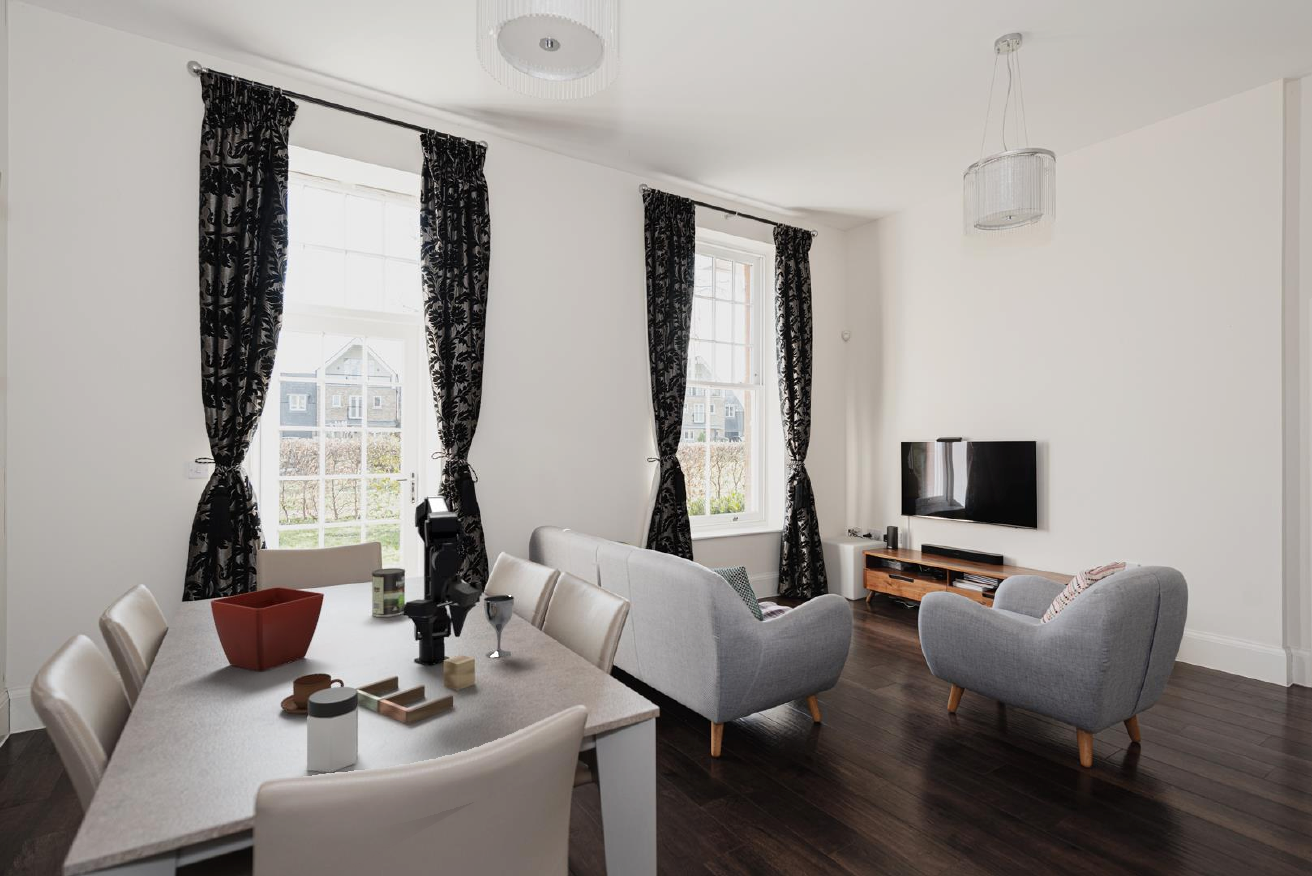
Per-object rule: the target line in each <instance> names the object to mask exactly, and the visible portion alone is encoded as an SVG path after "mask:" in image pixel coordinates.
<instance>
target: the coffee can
mask: <svg viewBox="0 0 1312 876" xmlns="http://www.w3.org/2000/svg"><path fill="white" fill-rule="evenodd" d="M405 574H406V570H405V568H399V567H395V568H391V567H389V568H382V569H381V568H380V569H376V570H373V571H372V572H371V575H372V576H371V577H372V579H371V583H372V584H371V587H372V590H371V593H372V594H371V595H372V597H371V599H372V602H371V603H372V604H371V605H372V611H371V615H372V616H373V617H376V618H389V617H391V618H392V617H397V616H400V614H401V615H404V605H405V604H406V601H405V599H406V598H405V597H406V596H405V595H406V594H405V593H406V591H405V590H406V589H405V587H406V585H405V583H406V582H405V581H406V579H405V578H406V577H405V576H406V575H405Z"/></svg>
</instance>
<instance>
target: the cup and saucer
mask: <svg viewBox="0 0 1312 876" xmlns="http://www.w3.org/2000/svg"><path fill="white" fill-rule="evenodd" d="M335 683H339V684H340V686H339V687H345V684H344V681H343V680H342V679H339V678H336V679H332V675H331V674H328V673H323V672H322V673H311V674H310V673H309V674H305V675H302V676H300V677H297V678H295V679H294V680H293V682H292V689H293V690H292V691H293V693H292V695H289V696H287V697H285V698H284V699H282V701H281V702H280V707H281V709H282V710H284V711H285V712H287V713H290V714H295V715H296V714H297V715H306V714H308V708H307V707H308V706H307V705H308V698H309V696H311V695H312V694H314V693H315V692H318V691H321V690H324V689H328V688H332V685H333V684H335Z"/></svg>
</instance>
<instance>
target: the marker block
mask: <svg viewBox="0 0 1312 876" xmlns="http://www.w3.org/2000/svg"><path fill="white" fill-rule="evenodd" d="M475 669H476V659H475V658H474V657H470V656H467V655H463V654H459V655H456V656H453V657H449V659H446V660H444V661H443V686H444V687H447V688H450V689H453V690H456V691H459V690H462V689H465V688H467V687H470V686H473V685H475V684H476V670H475Z"/></svg>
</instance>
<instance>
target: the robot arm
mask: <svg viewBox="0 0 1312 876" xmlns="http://www.w3.org/2000/svg"><path fill="white" fill-rule="evenodd" d="M414 527H415V528H417V533H418V535H419V537H420V539H421V540H422V541H423V599H415V600H411V601H407V602H405V605H404V613H403V617H404V616H406V617H407V618H408V619H409V620H410V619H411V621H412V623H413V624H414V626H413V632H414V633H413V634H414V635H413V636H414V640H415V641H416V642H417V641H418V656H419V657H417V658H413V662H415V663H420V664H422V665H426V666H433V665H435V664H438V663H442V662H444V660H446V659H449V658H450V657H449V656H446V649H445V648H446V646H445V645H446V644H445V638H450V636H452V629H453V634H454V637H456V638H459V637H461V635H462V634H461V633H462V631H463V628H464V625H465V622H466V619H467V616H468V614H469V612H470V611H471V610H472V609H474V608H475V607H476V606H477V603H480V602H481V599H480V598H481V597H482V595H483V592H482V591H483V585H482V581H479V580H472V581H471V582H470V583H469V582H466V583H465V582H463V580H462V575H461V574H460V573H458V572H460V570H461V569H462V566H463V558H462V555H461V554H460V553H459V552H458V551H457V546H463V545H464V542H465V541H466V535H465V527H464V523H463V522H462V519H460V518H459V517H458V514H457V513H455V512H452V511H451V507H450V505H449V504H448V503H447V499H446V496H443V495H427V496H426V497H424V498H423V501H422V502H421V503H420V504H419V505H417V506H416V507H415V513H414ZM447 606H448V608H449V610H448V609H447ZM448 611H449V613H448Z"/></svg>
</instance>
